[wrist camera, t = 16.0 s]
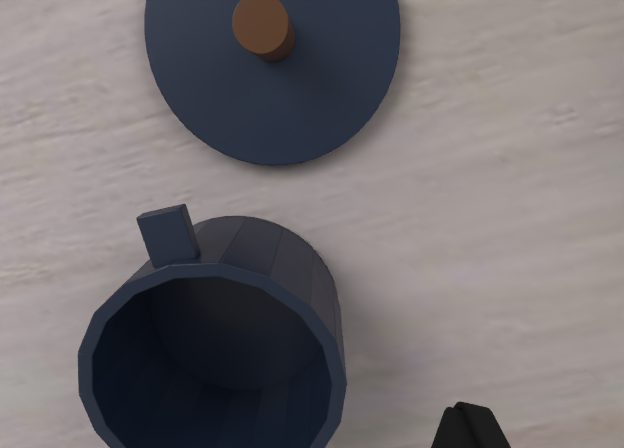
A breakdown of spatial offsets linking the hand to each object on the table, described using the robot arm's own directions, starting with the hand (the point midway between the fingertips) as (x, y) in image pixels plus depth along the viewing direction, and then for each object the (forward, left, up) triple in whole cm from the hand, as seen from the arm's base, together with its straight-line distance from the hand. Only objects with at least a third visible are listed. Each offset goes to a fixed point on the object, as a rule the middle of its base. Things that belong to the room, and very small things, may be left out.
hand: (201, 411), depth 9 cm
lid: (+3, -9, -23) cm, 25 cm away
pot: (+2, +10, -23) cm, 26 cm away
